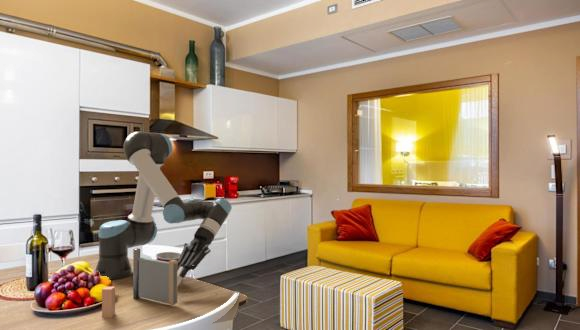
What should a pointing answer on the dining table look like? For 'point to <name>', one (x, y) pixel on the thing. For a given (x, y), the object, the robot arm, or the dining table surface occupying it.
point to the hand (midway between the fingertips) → (174, 283)
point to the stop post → (108, 301)
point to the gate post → (136, 273)
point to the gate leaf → (158, 280)
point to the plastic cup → (168, 257)
